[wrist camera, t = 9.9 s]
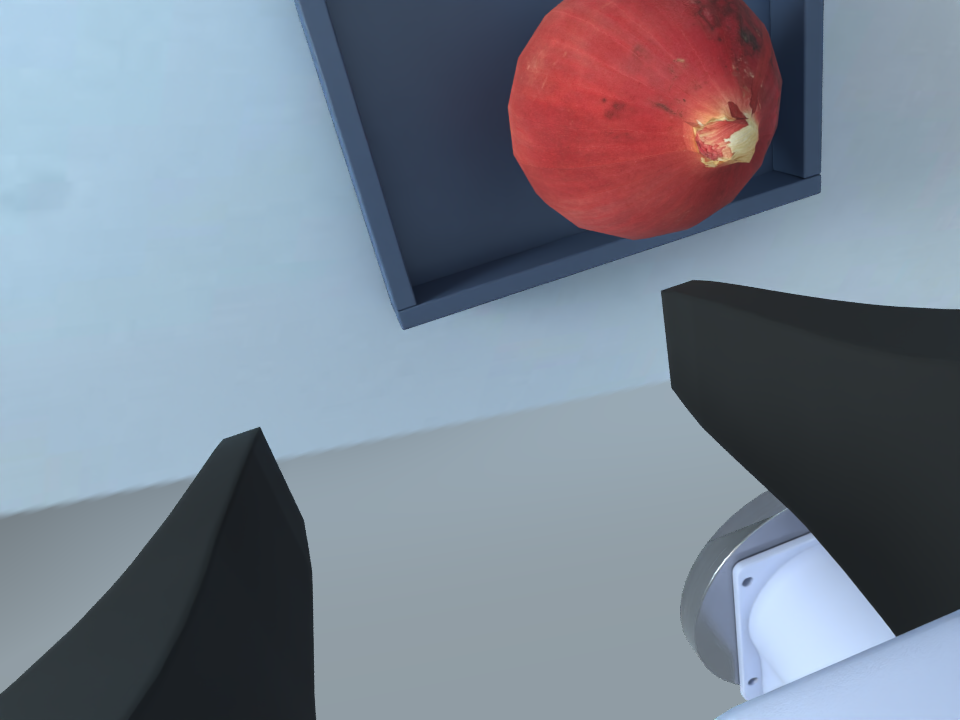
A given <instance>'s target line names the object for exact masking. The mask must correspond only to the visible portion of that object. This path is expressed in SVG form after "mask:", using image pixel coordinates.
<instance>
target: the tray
mask: <svg viewBox="0 0 960 720" xmlns="http://www.w3.org/2000/svg"><path fill="white" fill-rule="evenodd" d="M562 1H563V0H294V2H295V5H296V9H297V12H298V15H299V18H300V21H301V24H302V27H303V30H304V33H305V37H306V40H307V43H308V46H309V49H310V52H311V55H312V58H313V61H314V65H315V68H316V71H317V74H318V77H319V80H320V83H321V86H322V89H323V93H324V96H325V99H326V102H327V105H328V108H329V111H330V114H331V117H332V121H333V124H334V127H335V130H336V133H337V136H338V139H339V142H340V145H341V149H342V152H343V155H344V158H345V161H346V164H347V167H348V170H349V173H350V177H351V180H352V183H353V186H354V189H355V192H356V195H357V198H358V201H359V205H360V208H361V211H362V214H363V217H364V220H365V223H366V226H367V229H368V233H369V236H370V239H371V242H372V245H373V248H374V251H375V254H376V257H377V261H378V264H379V267H380V270H381V273H382V276H383V279H384V282H385V285H386V289H387V292H388V295H389V298H390V301H391V304H392V307H393V309H394V311H395V313H396V316H397V318H398V320H399V323H400V325H401V327H402V329H403V330H406V329H409V328H412V327H415V326H418V325H421V324H424V323H427V322H430V321H433V320H436V319H439V318H442V317H445V316H448V315H451V314H454V313H457V312H460V311H463V310H466V309H469V308H472V307H475V306H478V305H482V304H485V303H488V302H491V301H494V300H497V299H500V298H503V297H506V296H509V295H512V294H515V293H518V292H521V291H524V290H527V289H530V288H533V287H536V286H539V285H542V284H545V283H548V282H551V281H554V280H557V279H560V278H563V277H566V276H569V275H573V274H576V273H579V272H582V271H585V270H588V269H591V268H594V267H597V266H600V265H603V264H606V263H609V262H612V261H615V260H618V259H621V258H624V257H627V256H630V255H633V254H636V253H639V252H642V251H645V250H648V249H651V248H654V247H657V246H660V245H664V244H667V243H670V242H673V241H676V240H679V239H682V238H685V237H688V236H691V235H694V234H697V233H700V232H703V231H706V230H709V229H712V228H715V227H718V226H721V225H724V224H727V223H730V222H733V221H736V220H739V219H742V218H745V217H748V216H751V215H755V214H758V213H761V212H764V211H767V210H770V209H773V208H776V207H779V206H782V205H785V204H788V203H791V202H794V201H797V200H800V199H803V198H806V197H809V196H812V195H815V194H818V193H820V192H821V175H820V173H821V138H822V74H823V10H824V0H743V1H744V2H745V3H746V4H747V6H748V7H749V8H750V9H751V10H752V11H753V12H754V13H755V15H756V16H757V17H758V18H759V19H760V20H761V21H762V23H763V24H764V25H765V27H766V29H767V31H768V33H769V36H770V39H771V43H772V46H773V50H774V53H775V57H776V60H777V64H778V67H779V71H780V74H781V78H782V89H781V98H780V107H779V116H778V125H777V128H776V131H775V133H774V136H773V138H772V140H771V143H770V145H769V147H768V150H767V152H766V154H765V157H764V160H763V163H762V165H761V167H760V168H759V169H758V170H757V172H756V173H755V174H754V175H753V176H752V178H751V179H750V180H749V181H748V183H747V184H746V185H745V186H744V187H743V189H742V190H741V191H740V192H739V194H738V195H737V196H736V197H735V199H734V200H733V201H732V202H731V203H729V204H728V205H726V206H724V207H723V208H721V209H720V210H718V211H717V212H715V213H714V214H712V215H711V216H709V217H708V218H706V219H705V220H703V221H702V222H700V223H699V224H697V225H695V226H693V227H691V228H689V229H687V230H682V231H678V232H674V233H669V234H665V235H660V236H656V237H651V238H646V239H638V240H631V239H626V238H622V237H618V236H613V235H609V234H604V233H600V232H595V231H591V230H586V229H582V228H579V227H577V226H576V225H575V224H573V223H572V222H570V221H569V220H568V219H566V218H565V217H564V216H562V215H561V214H560V213H558V212H557V211H556V210H554V209H553V208H551V207H550V206H549V205H547V204H546V203H545V202H544V201H543V200H542V199H541V198H540V197H539V196H538V195H537V193H536V192H535V191H534V189H533V187H532V186H531V184H530V182H529V181H528V179H527V177H526V175H525V174H524V172H523V170H522V169H521V167H520V165H519V163H518V162H517V160H516V158H515V156H514V155H513V146H512V138H511V130H510V122H509V113H508V104H509V99H510V94H511V89H512V85H513V80H514V75H515V71H516V66H517V61H518V57H519V56H520V54H521V53H522V51H523V50H524V48H525V46H526V45H527V43H528V42H529V40H530V39H531V37H532V35H533V34H534V32H535V31H536V29H537V27H538V26H539V24H540V23H541V21H542V20H543V18H544V16H545V15H546V14H548V13H549V12H550V11H551V10H552V9H553V8H555V7H556V6H557V5H558V4H560V3H561V2H562Z"/></svg>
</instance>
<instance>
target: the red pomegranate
mask: <svg viewBox="0 0 960 720" xmlns="http://www.w3.org/2000/svg"><path fill="white" fill-rule="evenodd" d="M781 89H782V78H781V74H780V71H779V67H778V64H777V60H776V57H775V53H774V50H773V46H772V43H771V39H770V36H769V33H768V31H767V29H766V27H765V25H764V24H763V23H762V21H761V20H760V19H759V18H758V17H757V16H756V15H755V13H754V12H753V11H752V10H751V9H750V8H749V7H748V6H747V4H746V3H745V2H744V1H743V0H563V1H562V2H561V3H560V4H558V5H557V6H556V7H555V8H553V9H552V10H551V11H550V12H549V13H548V14H546V15H545V16H544V18H543V20H542V21H541V23H540V24H539V26H538V27H537V29H536V31H535V32H534V34H533V35H532V37H531V39H530V40H529V42H528V43H527V45H526V46H525V48H524V50H523V51H522V53H521V54H520V56H519V57H518V61H517V66H516V71H515V75H514V80H513V85H512V89H511V94H510V99H509V104H508V113H509V122H510V130H511V138H512V146H513V155H514V156H515V158H516V160H517V162H518V163H519V165H520V167H521V169H522V170H523V172H524V174H525V175H526V177H527V179H528V181H529V182H530V184H531V186H532V187H533V189H534V191H535V192H536V193H537V195H538V196H539V197H540V198H541V199H542V200H543V201H544V202H545V203H546V204H547V205H549V206H550V207H551V208H553V209H554V210H556V211H557V212H558V213H560V214H561V215H562V216H564V217H565V218H566V219H568V220H569V221H570V222H572V223H573V224H575V225H576V226H577V227H579V228H582V229H586V230H591V231H595V232H600V233H604V234H609V235H613V236H618V237H622V238H626V239H631V240H638V239H646V238H651V237H656V236H660V235H665V234H669V233H674V232H678V231H682V230H687V229H689V228H691V227H693V226H695V225H697V224H699V223H700V222H702V221H703V220H705V219H706V218H708V217H709V216H711V215H712V214H714V213H715V212H717V211H718V210H720V209H721V208H723V207H724V206H726V205H728V204H729V203H731V202H732V201H733V200H734V199H735V197H736V196H737V195H738V194H739V192H740V191H741V190H742V189H743V187H744V186H745V185H746V184H747V183H748V181H749V180H750V179H751V178H752V176H753V175H754V174H755V173H756V172H757V170H758V169H759V168H760V167H761V165H762V163H763V160H764V157H765V154H766V152H767V150H768V147H769V145H770V143H771V140H772V138H773V136H774V133H775V131H776V128H777V125H778V116H779V107H780V98H781Z"/></svg>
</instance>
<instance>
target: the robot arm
mask: <svg viewBox="0 0 960 720" xmlns="http://www.w3.org/2000/svg"><path fill="white" fill-rule="evenodd" d="M661 295H662V304H663V314H664V323H665V332H666V342H667V351H668V360H669V369H670V379H671V387H672V389H673V390H674V392H675V393H676V394H677V396H678V397H679V398H680V400H681V401H682V403H683V404H684V405H685V407H686V408H687V409H688V410H689V412H690V413H691V414H692V415H693V417H694V418H695V419H696V420H697V422H698V423H699V424H700V425H701V426H702V428H704V430H705V431H707V432H708V433H709V434H710V435H711V436H712V437H713V438H714V439H715V440H716V441H717V442H718V443H719V444H720V445H721V446H722V447H723V448H724V449H725V450H726V451H728V453H729V454H730V455H731V456H733V457H734V458H735V459H736V460H737V461H738V462H739V463H740V464H741V465H742V466H743V467H744V468H745V469H746V470H748V471H749V472H750V473H751V474H752V475H753V476H754V477H755V478H756V479H757V480H758V481H759V482H760V483H762V485H764V486H765V487H766V488H767V489H768V490H769V491H770V492H771V493H772V494H773V495H774V496H775V497H776V498H777V499H779V500H780V501H781V502H782V503H783V504H784V505H785V506H786V507H787V508H788V509H789V510H790V511H791V512H792V513H793V514H794V515H795V516H796V517H797V518H798V519H799V520H800V521H801V522H802V523H803V524H804V525H805V526H806V527H807V529H808V530H809V531H810V532H811V533H809V534H806V535H804V536H801V537H799V538H796V539H794V540H791V541H789V542H786V543H784V544H781V545H779V546H776V547H774V548H771V549H769V550H766V551H764V552H761V553H759V554H756V555H754V556H752V557H749V558H747V559H744V560H742V561H740V562H738V563H737V564H736V565H735V566H734V568H733V588H734V603H735V618H736V633H737V648H738V663H739V678H740V692H741V694H742V696H743V697H744V699H746V700H749V701H746V702H744V703H742V704H740V705H737V706H735V707H733V708H731V709H730V710H728V711H726V712H725V713H723V714H722V715H720V716H718V717H717V718H715V719H714V720H960V309H931V308H912V307H894V306H883V305H872V304H863V303H855V302H846V301H838V300H830V299H823V298H816V297H809V296H802V295H796V294H790V293H784V292H778V291H772V290H766V289H760V288H754V287H748V286H742V285H735V284H729V283H721V282H713V281H702V280H692V281H689V282H686V283H683V284H680V285H677V286H674V287H671V288H668V289H665V290H662V291H661ZM0 720H316V713H315V697H314V638H313V584H312V568H311V562H310V554H309V548H308V542H307V536H306V530H305V525H304V520H303V517H302V515H301V513H300V511H299V509H298V507H297V505H296V503H295V500H294V498H293V496H292V494H291V492H290V490H289V488H288V486H287V483H286V481H285V479H284V477H283V475H282V473H281V471H280V469H279V467H278V464H277V462H276V460H275V458H274V456H273V454H272V452H271V449H270V447H269V445H268V443H267V441H266V439H265V437H264V435H263V432H262V430H261V428H260V427H258V428H255V429H252V430H249V431H246V432H243V433H240V434H237V435H234V436H231V437H229V438H226V439H223V440H222V441H221V442H220V444H219V445H218V446H217V447H216V449H215V450H214V452H213V453H212V454H211V456H210V457H209V459H208V460H207V462H206V463H205V464H204V466H203V467H202V469H201V470H200V472H199V473H198V475H197V476H196V478H195V479H194V481H193V482H192V483H191V485H190V486H189V488H188V489H187V491H186V492H185V493H184V495H183V496H182V498H181V499H180V501H179V502H178V504H177V505H176V506H175V508H174V509H173V511H172V512H171V513H170V515H169V516H168V517H167V519H166V520H165V521H164V523H163V524H162V525H161V527H160V528H159V529H158V530H157V532H156V533H155V534H154V536H153V537H152V538H151V539H150V541H149V542H148V543H147V544H146V546H145V547H144V548H143V550H142V551H141V552H140V553H139V555H138V556H137V557H136V559H135V560H134V561H133V563H132V564H131V565H130V566H129V567H128V568H127V570H126V571H125V572H124V573H123V574H122V576H121V577H120V578H119V579H118V580H117V581H116V583H114V585H113V586H112V587H111V588H110V589H109V590H108V591H107V592H106V594H104V596H103V597H102V598H101V599H100V600H99V601H98V602H97V603H96V604H95V605H94V606H93V607H92V608H91V609H90V610H89V611H88V613H87V614H86V615H85V616H84V617H83V618H82V619H81V620H80V621H79V622H78V623H77V624H76V625H75V626H74V627H73V628H72V629H71V630H70V631H69V632H68V633H67V634H66V635H65V636H63V637H62V638H61V639H60V640H59V641H58V642H57V643H56V644H55V645H54V646H53V647H52V648H51V649H49V650H48V651H47V652H46V653H45V654H44V655H43V656H42V657H41V658H40V659H39V660H38V661H36V662H35V663H34V664H33V665H32V666H31V667H30V668H29V669H28V670H27V671H26V672H25V673H24V674H22V675H21V676H20V677H19V678H18V679H17V680H16V681H15V682H14V683H13V684H11V685H10V686H9V687H8V688H7V689H6V690H5V691H3V692H2V693H1V694H0Z"/></svg>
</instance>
